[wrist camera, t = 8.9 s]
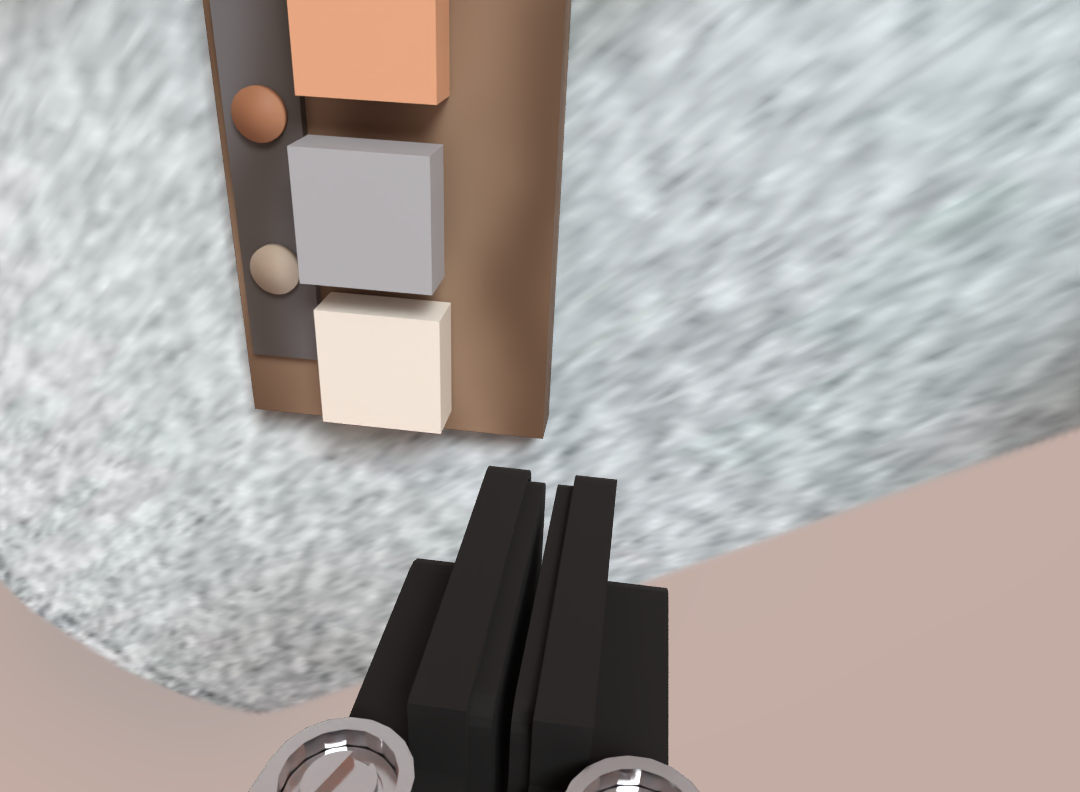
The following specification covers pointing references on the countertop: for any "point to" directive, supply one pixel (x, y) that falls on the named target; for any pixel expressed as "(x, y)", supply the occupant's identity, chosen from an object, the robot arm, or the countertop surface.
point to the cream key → (384, 361)
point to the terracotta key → (371, 49)
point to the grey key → (368, 213)
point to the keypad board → (469, 199)
